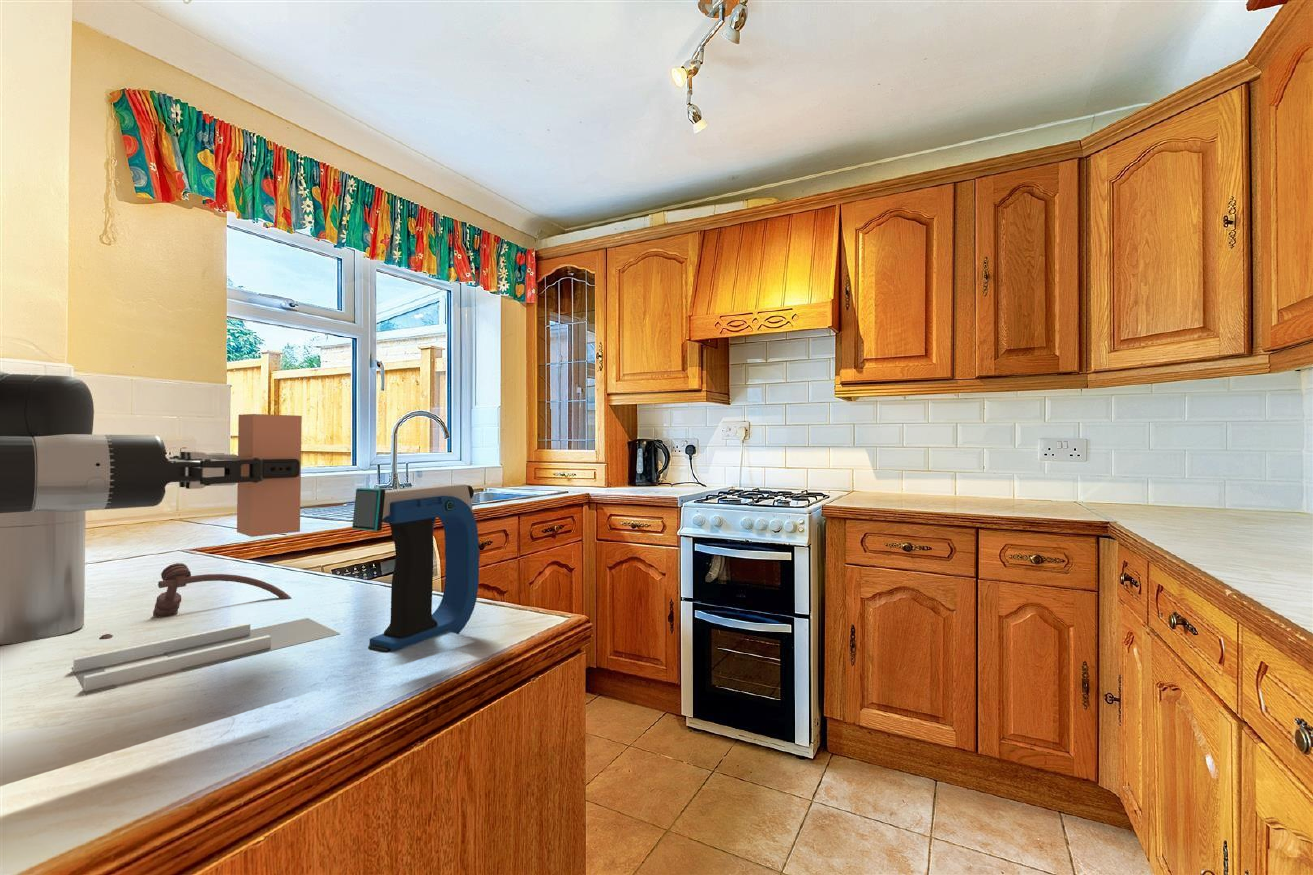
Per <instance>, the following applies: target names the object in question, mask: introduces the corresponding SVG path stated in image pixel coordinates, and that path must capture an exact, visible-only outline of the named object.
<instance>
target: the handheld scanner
mask: <svg viewBox="0 0 1313 875" xmlns="http://www.w3.org/2000/svg"><path fill="white" fill-rule="evenodd" d="M474 493H475V491H474V488H473V486H472V485H470V484H469V485H468V484H464V483H461V484H460V483H450V484H449V483H448V484H436V485H427V486H426V485H424V486H417V487H407V488H406V487H405V488H395V489H385V488H368V487H367V488H365V487H363V488H362V487H358V488H356V489H355V496H354V497H355V498H354V507H353V515H352V516H353V517H352V529H353V530H361V531H362V530H363V531H371V532H372V531H373V532H379V531H382V530H383V529H382V527H383V524H388V525H389V527H390V533H391V537H392V540H393V544H394V549H395V552H394V553H395V560H394V569H393V573H392V576H391V577H392V578H391V588H390V589H391V591H390V592H391V593H390V623H389V625H388V626H387V627H386V629H384V632H383V633H381V634H378V635H376V636H373V637H372V636H371V637H370V638H369V642H368V643H369V645H368V646H367V648H368V650H369V651H373V652H379V653H388V652H393V653H394V652H397V651H400V650H403V649H405V648H407V647H410V646H413V645H415V644H419V643H422V642H423V641H426V640H427V641H428V640H429V639H431V638H434V637H436V636H440V635H442V634H445V633H447V632H451V633H454V634H456V635H459V634H460V633H461V632H462V631H463V629H464V628H465V627H466V625H467V623H468V622H469V621H470V619H471V618H472V614H473V612H474V610H475V606H476V603H477V600H478V599H477V598H478V592H479V584H480V581H479V580H480V546H479V542H480V541H479V531H478V525H477V520H476V517H475V514H474V511H473V510H474V509H473V503H472V501H471V500H472V498H473V497H474ZM437 518H438V519H439V520H440V522H441V524H442V528H443V532H444V550H445V551H444V552H445V553H444V557H445V558H444V559H445V560H444V561H445V562H444V564H445V565H444V566H445V567H444V573H445V575H444V588H443V594H442V598H441V601H440V603H439V605H438V606H437V608H436V610H435V611H432V610H433V607H432V606H433V581H434V580H433V579H434V527H435V522H436V521H437ZM432 612H433V613H432Z"/></svg>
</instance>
